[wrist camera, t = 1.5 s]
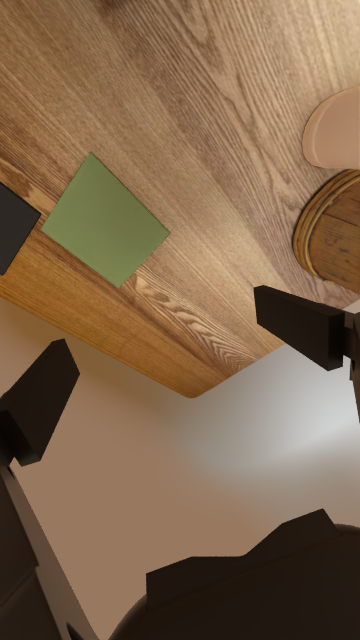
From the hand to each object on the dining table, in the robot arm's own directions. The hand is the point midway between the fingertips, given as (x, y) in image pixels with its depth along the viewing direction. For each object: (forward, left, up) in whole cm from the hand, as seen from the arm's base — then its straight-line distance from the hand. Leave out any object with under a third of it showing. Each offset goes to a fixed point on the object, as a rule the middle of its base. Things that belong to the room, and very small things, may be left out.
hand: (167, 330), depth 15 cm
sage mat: (-6, -7, -27) cm, 28 cm away
